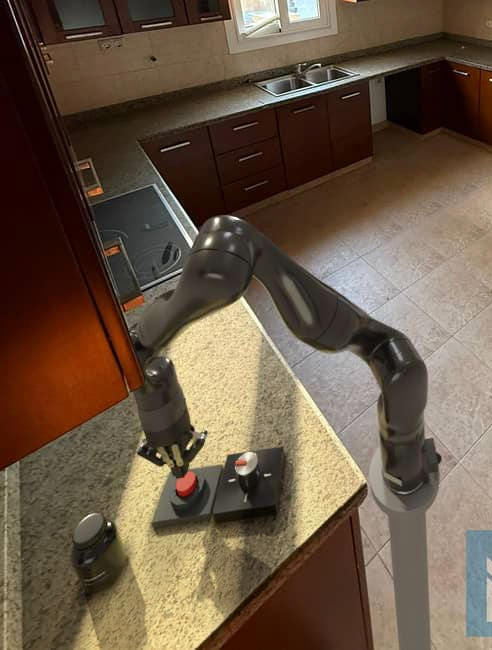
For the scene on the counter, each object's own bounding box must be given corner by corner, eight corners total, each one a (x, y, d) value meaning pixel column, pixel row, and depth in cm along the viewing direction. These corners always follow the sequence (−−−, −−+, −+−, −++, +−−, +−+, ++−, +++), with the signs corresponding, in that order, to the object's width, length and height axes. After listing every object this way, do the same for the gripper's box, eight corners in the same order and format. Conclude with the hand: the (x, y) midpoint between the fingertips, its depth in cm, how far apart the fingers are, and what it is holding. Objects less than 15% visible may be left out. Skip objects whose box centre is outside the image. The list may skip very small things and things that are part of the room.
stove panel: (285, 455, 95) (283, 445, 94) (277, 514, 85) (274, 504, 84) (229, 463, 94) (227, 454, 93) (214, 524, 84) (211, 513, 83)
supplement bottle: (93, 606, 73) (73, 563, 70) (76, 578, 77) (56, 536, 73) (134, 562, 79) (118, 520, 75) (116, 537, 83) (100, 496, 79)
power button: (199, 476, 89) (197, 470, 89) (193, 495, 86) (191, 490, 85) (181, 478, 89) (179, 472, 88) (174, 498, 86) (172, 492, 85)
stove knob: (263, 465, 91) (259, 449, 89) (257, 489, 87) (254, 473, 85) (242, 467, 91) (238, 451, 89) (235, 491, 86) (231, 474, 85)
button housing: (223, 469, 93) (220, 458, 92) (211, 519, 85) (207, 507, 84) (171, 477, 92) (167, 466, 91) (153, 528, 84) (149, 516, 83)
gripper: (116, 436, 76) (139, 500, 82) (193, 425, 78) (210, 489, 83) (136, 397, 83) (155, 458, 89) (206, 387, 85) (221, 449, 90)
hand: (182, 473), depth 86 cm, fingers closed
